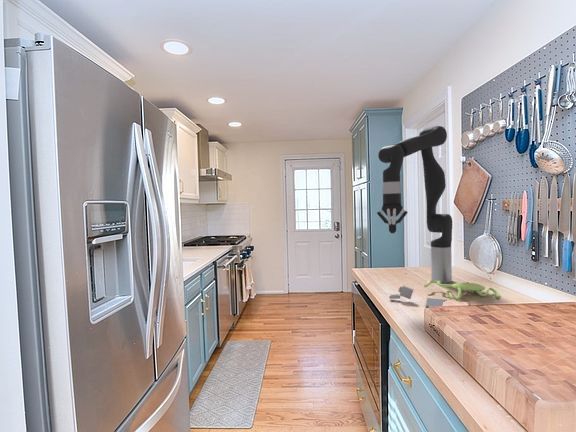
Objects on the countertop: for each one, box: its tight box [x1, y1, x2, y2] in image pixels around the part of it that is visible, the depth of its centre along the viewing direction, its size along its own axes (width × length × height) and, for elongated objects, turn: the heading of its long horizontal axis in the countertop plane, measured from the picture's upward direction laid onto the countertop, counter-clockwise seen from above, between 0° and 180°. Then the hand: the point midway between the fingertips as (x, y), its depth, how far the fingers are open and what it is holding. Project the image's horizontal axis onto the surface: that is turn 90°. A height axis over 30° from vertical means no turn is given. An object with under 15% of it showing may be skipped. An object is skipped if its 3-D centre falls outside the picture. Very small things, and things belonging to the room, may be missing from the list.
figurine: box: [424, 280, 501, 301], centre depth 142 cm, size 18×27×6 cm
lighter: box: [388, 285, 415, 300], centre depth 136 cm, size 7×2×8 cm
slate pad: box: [425, 297, 448, 308], centre depth 129 cm, size 11×15×1 cm
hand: (392, 233), depth 143 cm, fingers closed
